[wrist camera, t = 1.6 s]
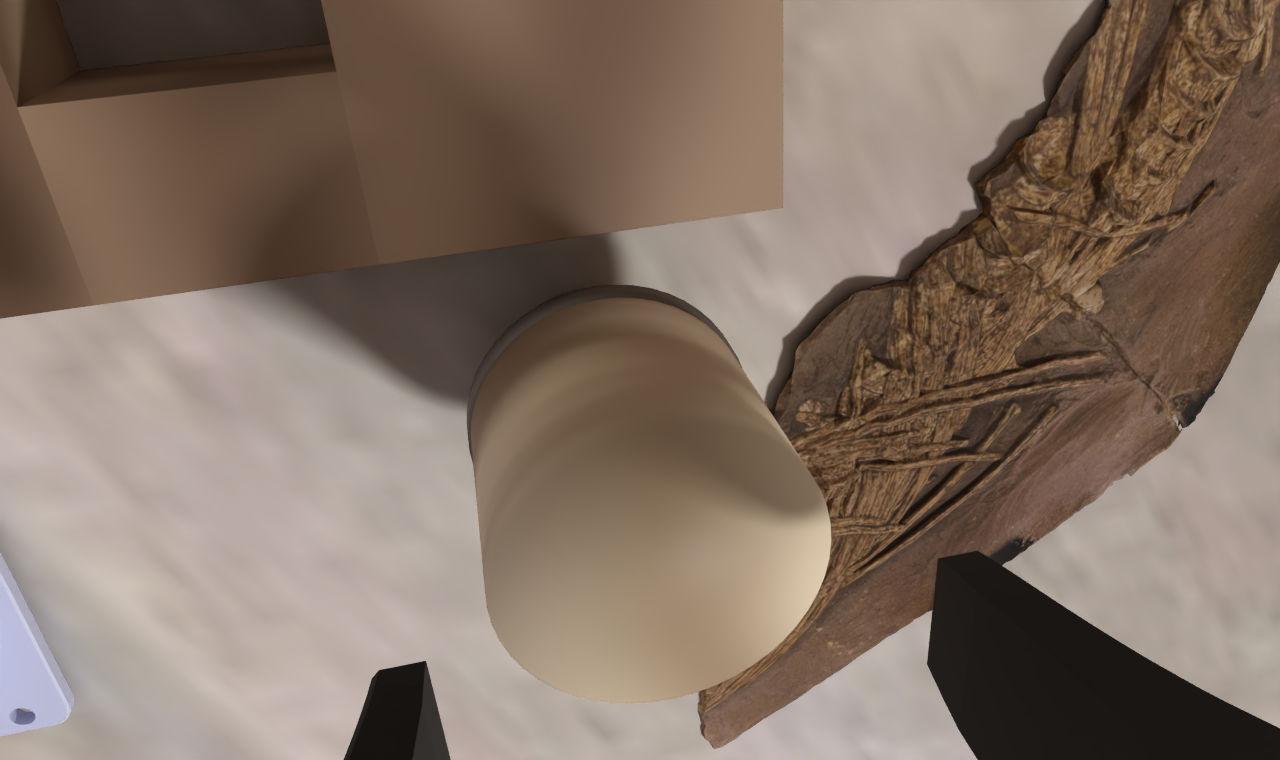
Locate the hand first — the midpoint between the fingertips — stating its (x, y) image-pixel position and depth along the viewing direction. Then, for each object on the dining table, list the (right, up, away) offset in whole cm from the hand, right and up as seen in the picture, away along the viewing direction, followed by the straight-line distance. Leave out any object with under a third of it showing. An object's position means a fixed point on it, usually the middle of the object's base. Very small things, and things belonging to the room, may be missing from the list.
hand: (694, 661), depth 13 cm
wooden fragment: (+8, +4, +12) cm, 14 cm away
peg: (-2, +4, +8) cm, 9 cm away
